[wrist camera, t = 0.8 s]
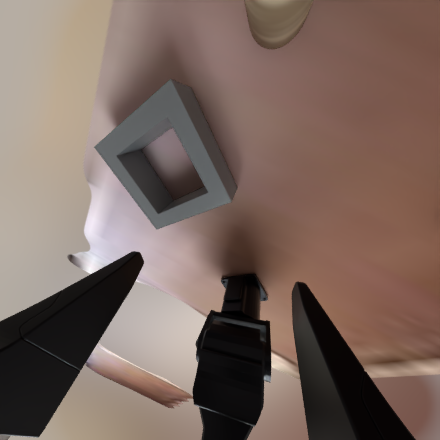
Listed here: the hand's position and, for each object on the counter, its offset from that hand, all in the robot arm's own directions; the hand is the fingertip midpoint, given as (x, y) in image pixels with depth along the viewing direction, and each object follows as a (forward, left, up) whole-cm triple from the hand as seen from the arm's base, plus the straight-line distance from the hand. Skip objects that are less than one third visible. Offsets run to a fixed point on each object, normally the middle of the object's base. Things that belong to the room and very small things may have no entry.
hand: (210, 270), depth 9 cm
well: (+6, +6, -13) cm, 15 cm away
